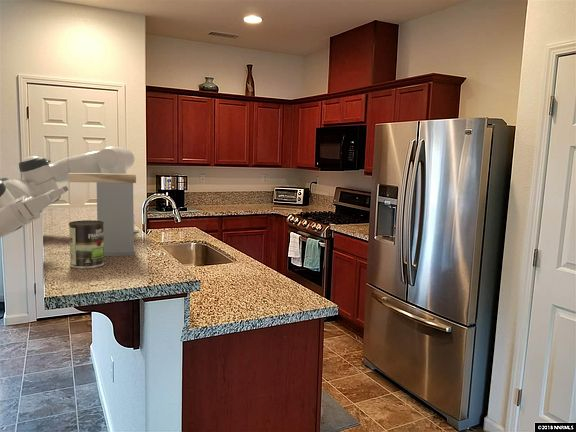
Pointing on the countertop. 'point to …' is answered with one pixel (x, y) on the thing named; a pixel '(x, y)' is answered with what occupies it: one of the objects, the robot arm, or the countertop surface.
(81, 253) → the coffee can
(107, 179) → the rail
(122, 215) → the upright
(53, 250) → the countertop surface
